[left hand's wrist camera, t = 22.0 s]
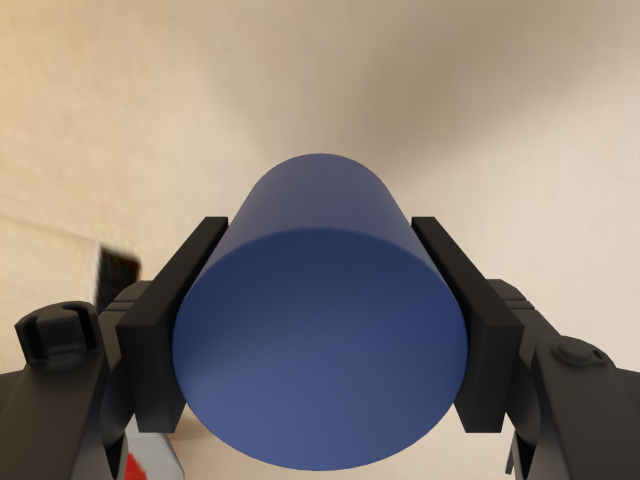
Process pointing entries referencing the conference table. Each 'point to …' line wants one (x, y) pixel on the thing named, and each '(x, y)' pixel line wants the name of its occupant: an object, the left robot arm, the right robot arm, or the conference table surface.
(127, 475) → the fish
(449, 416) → the conference table surface
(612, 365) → the left robot arm
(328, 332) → the can
